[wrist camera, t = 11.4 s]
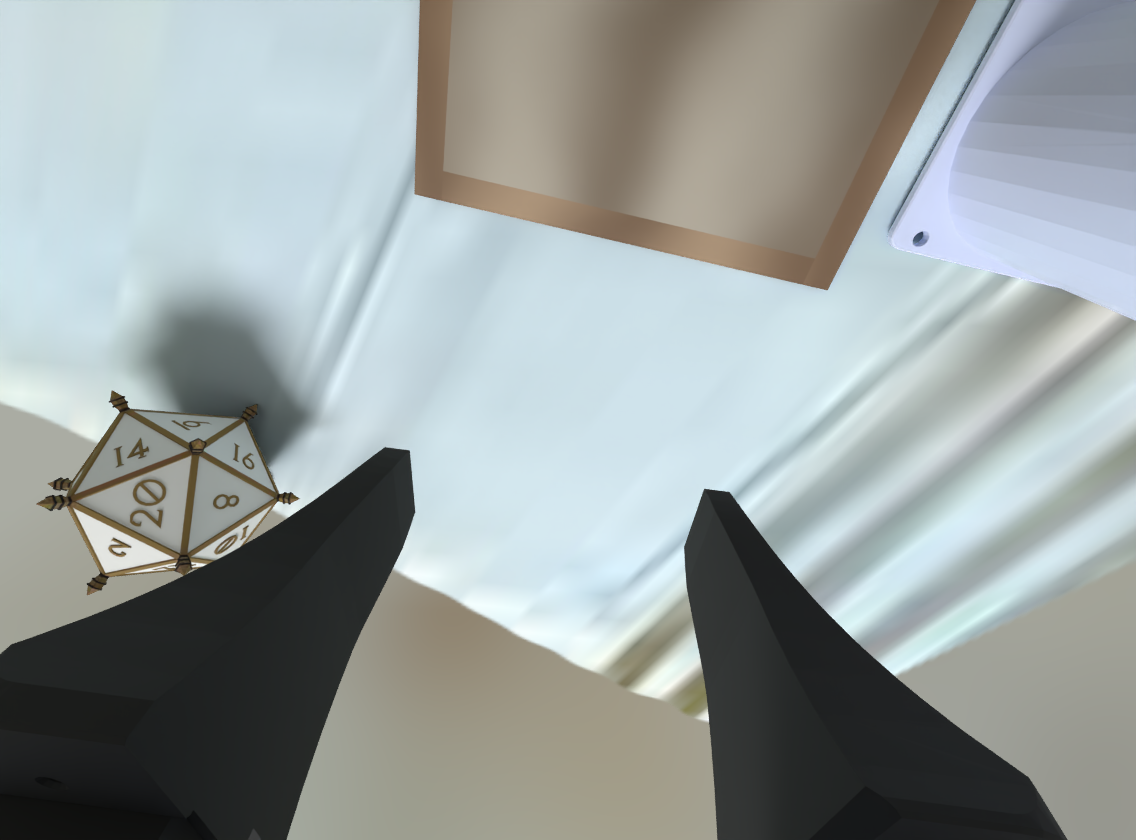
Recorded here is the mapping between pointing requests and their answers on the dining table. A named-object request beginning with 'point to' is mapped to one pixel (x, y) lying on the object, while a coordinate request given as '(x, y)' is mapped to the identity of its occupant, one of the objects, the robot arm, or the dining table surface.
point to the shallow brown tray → (678, 118)
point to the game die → (168, 491)
